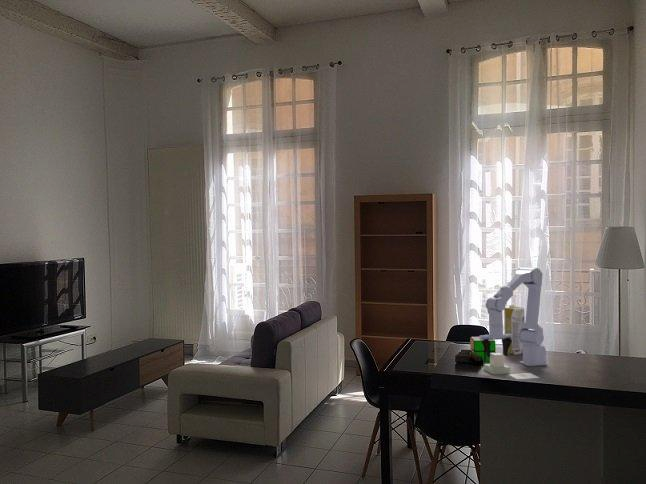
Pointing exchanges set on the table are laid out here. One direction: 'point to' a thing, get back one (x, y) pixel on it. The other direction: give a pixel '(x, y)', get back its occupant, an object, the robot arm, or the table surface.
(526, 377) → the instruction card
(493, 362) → the cream brick
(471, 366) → the table surface
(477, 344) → the puzzle cube
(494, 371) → the base brick
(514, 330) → the juice carton
